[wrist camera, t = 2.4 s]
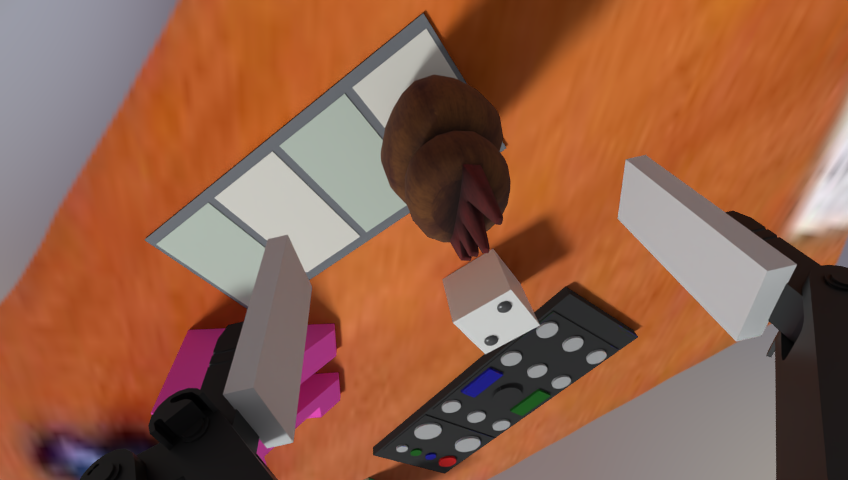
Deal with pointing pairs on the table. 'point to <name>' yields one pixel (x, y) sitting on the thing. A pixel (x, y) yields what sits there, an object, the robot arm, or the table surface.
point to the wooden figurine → (447, 162)
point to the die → (488, 302)
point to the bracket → (314, 388)
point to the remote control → (507, 384)
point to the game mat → (308, 176)
